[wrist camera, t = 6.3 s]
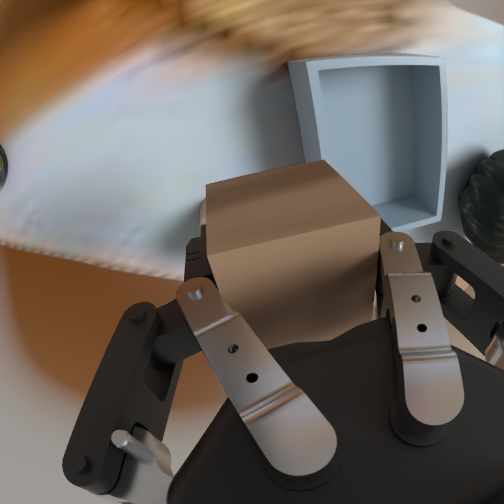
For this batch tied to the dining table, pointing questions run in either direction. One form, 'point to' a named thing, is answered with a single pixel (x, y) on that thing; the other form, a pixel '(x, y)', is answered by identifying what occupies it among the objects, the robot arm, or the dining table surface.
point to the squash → (485, 207)
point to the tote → (379, 128)
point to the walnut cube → (293, 252)
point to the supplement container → (3, 166)
